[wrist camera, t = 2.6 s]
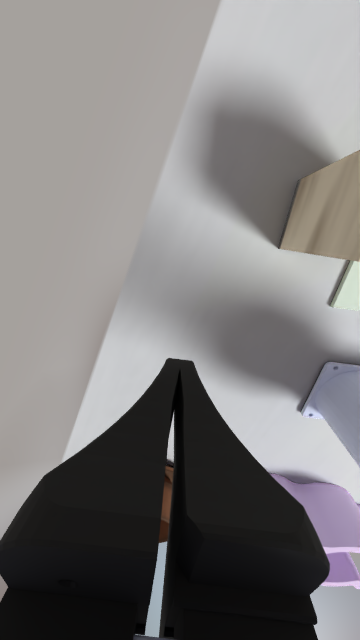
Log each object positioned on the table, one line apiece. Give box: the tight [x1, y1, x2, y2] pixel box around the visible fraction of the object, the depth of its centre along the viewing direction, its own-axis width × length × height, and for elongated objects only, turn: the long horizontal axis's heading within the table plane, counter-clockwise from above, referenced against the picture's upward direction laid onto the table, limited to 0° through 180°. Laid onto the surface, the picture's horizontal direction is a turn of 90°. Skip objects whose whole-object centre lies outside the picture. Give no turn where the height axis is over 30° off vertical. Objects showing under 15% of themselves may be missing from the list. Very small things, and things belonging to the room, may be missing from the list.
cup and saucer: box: [159, 466, 174, 543], centre depth 29 cm, size 12×12×6 cm
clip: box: [270, 474, 360, 589], centre depth 29 cm, size 20×12×7 cm, turn 66°
